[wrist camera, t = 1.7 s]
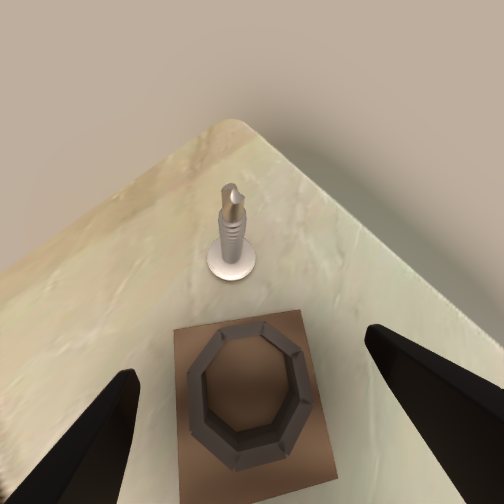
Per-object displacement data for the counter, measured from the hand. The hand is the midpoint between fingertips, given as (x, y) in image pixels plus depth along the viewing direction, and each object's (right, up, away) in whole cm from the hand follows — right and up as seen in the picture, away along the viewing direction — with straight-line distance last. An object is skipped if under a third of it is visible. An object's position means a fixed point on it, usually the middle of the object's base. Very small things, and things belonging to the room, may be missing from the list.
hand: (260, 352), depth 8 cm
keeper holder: (-1, -9, +11) cm, 14 cm away
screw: (-3, +3, +15) cm, 16 cm away
